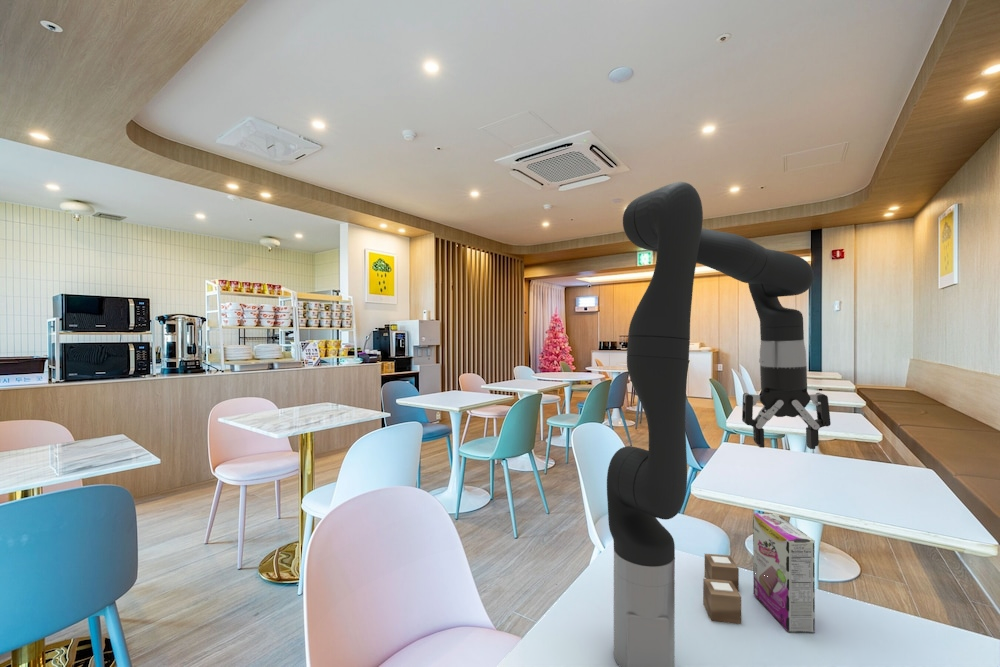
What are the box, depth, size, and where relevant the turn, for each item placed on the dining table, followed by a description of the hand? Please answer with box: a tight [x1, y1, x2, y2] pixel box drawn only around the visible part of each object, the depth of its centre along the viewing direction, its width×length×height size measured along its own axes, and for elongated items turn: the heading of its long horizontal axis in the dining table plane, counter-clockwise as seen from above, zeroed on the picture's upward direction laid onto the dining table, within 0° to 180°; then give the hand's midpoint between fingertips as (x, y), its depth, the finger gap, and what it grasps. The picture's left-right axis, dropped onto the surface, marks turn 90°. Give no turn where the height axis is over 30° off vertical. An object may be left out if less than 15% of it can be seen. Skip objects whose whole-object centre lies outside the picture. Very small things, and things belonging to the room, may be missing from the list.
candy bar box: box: [752, 512, 816, 634], centre depth 81 cm, size 11×5×16 cm, turn 179°
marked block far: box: [704, 553, 740, 593], centre depth 90 cm, size 5×5×5 cm
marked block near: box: [702, 578, 742, 625], centre depth 81 cm, size 5×5×5 cm
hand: (785, 447), depth 85 cm, fingers open, 8 cm apart
